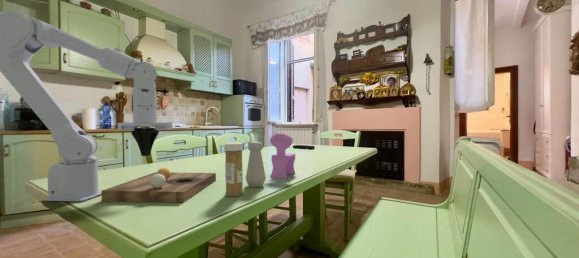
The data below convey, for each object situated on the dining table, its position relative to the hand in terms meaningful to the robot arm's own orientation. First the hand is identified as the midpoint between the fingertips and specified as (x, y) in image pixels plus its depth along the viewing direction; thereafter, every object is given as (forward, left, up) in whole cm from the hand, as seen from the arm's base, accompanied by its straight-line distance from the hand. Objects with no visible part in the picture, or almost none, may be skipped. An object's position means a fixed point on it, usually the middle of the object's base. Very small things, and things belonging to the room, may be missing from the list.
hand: (145, 155), depth 71 cm
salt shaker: (+30, +5, -10) cm, 32 cm away
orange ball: (+5, 0, -5) cm, 7 cm away
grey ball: (+8, -8, -5) cm, 12 cm away
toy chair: (+37, +20, -10) cm, 43 cm away
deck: (+6, 0, -9) cm, 11 cm away
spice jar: (+26, -4, -10) cm, 28 cm away
